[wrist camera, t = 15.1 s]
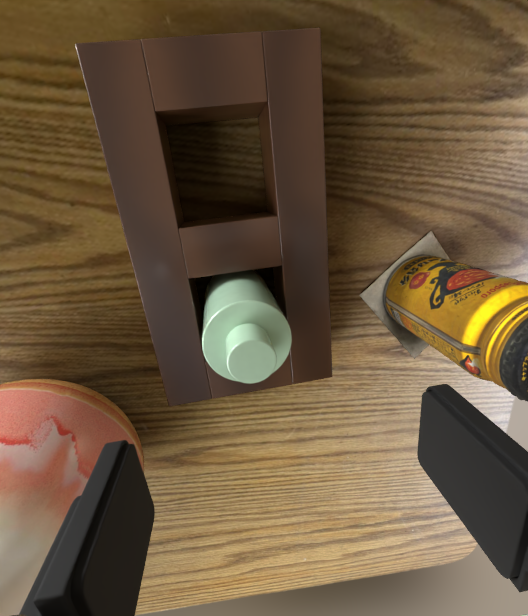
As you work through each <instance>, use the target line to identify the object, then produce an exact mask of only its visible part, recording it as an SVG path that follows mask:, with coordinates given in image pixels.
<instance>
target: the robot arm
mask: <svg viewBox="0 0 528 616" xmlns="http://www.w3.org/2000/svg"><path fill="white" fill-rule="evenodd" d="M418 460H419V463H420V465H421V466H422V468H423V469H424V471H425V472H426V473H427V475H428V476H429V477H430V479H431V480H432V481H433V483H434V484H435V486H436V487H437V488H438V490H439V491H440V492H441V494H442V495H443V496H444V498H445V499H446V501H447V502H448V503H449V505H450V506H451V507H452V509H453V510H454V511H455V513H456V514H457V516H458V517H459V518H460V520H461V521H462V522H463V524H464V525H465V526H466V528H467V529H468V531H469V532H470V533H471V535H472V536H473V537H474V539H475V540H476V541H477V543H478V544H479V545H480V547H481V548H482V550H483V551H484V552H485V554H486V555H487V556H488V558H489V559H490V561H491V562H492V563H493V565H494V566H495V567H496V569H497V570H498V571H499V573H500V574H501V575H502V576H504V577H505V578H507V579H508V578H509V579H510V580H511V581H512V583H513V584H514V585H515V587H516V588H517V589H518V591H519V592H523V591H527V590H528V452H527V451H526V450H525V449H524V448H523V447H521V446H520V445H519V444H518V443H517V442H515V441H514V440H513V439H512V438H510V436H508V435H507V434H506V433H505V432H504V431H502V430H501V429H500V428H499V427H498V426H497V425H495V424H494V423H493V422H492V421H491V420H489V419H488V418H487V417H486V416H485V415H484V414H482V413H481V412H480V411H479V410H478V409H476V408H475V407H474V406H473V405H472V404H471V403H469V402H468V401H467V400H466V399H465V398H463V397H462V396H461V395H460V394H459V393H458V392H456V391H455V390H454V389H453V388H452V387H450V386H449V385H447V384H442V385H436V386H431V387H428V388H427V389H426V392H424V393H423V395H422V404H421V417H420V429H419V442H418ZM153 522H154V504H153V501H152V498H151V495H150V492H149V489H148V485H147V482H146V479H145V476H144V473H143V470H142V467H141V464H140V460H139V457H138V454H137V451H136V448H135V445H134V444H129V443H128V441H127V440H121V441H116V442H110V443H106V444H105V445H104V447H103V449H102V451H101V453H100V455H99V458H98V460H97V462H96V464H95V466H94V469H93V471H92V473H91V475H90V477H89V479H88V482H87V484H86V486H85V488H84V490H83V493H82V495H81V496H78V497H77V498H75V499H74V501H73V502H72V504H71V506H70V508H69V510H68V512H67V514H66V516H65V519H64V521H63V523H62V525H61V527H60V529H59V531H58V533H57V535H56V537H55V540H54V542H53V544H52V546H51V548H50V550H49V552H48V554H47V556H46V558H45V560H44V563H43V565H42V567H41V569H40V571H39V573H38V575H37V577H36V579H35V581H34V584H33V586H32V588H31V590H30V592H29V594H28V596H27V598H26V600H25V602H24V605H23V607H22V609H21V611H20V613H19V615H11V616H134V615H135V610H136V605H137V601H138V596H139V591H140V586H141V581H142V576H143V571H144V566H145V561H146V556H147V551H148V546H149V541H150V536H151V531H152V526H153ZM521 616H528V614H525V615H521Z"/></svg>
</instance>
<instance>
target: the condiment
mask: <svg viewBox="0 0 528 616" xmlns="http://www.w3.org/2000/svg"><path fill="white" fill-rule="evenodd" d="M360 296H361V297H362V299H363V300H364V301H365V302H366V303H367V305H368V306H369V307H370V308H371V309H372V310H373V312H374V313H375V314H376V315H377V316H378V317H379V319H380V320H381V321H382V322H383V323H384V324H385V325H386V327H387V328H388V329H389V330H390V331H391V332H392V333H393V335H394V336H395V337H396V338H397V339H398V340H399V342H400V343H401V344H402V345H403V346H404V347H405V349H406V350H407V351H408V352H409V353H410V354H411V355H412V357H413V358H414V359H415V358H416V357H417V356H418V355H419V354H420V353H421V352H422V351H423V350H424V349H425V348H426V347H427V346H428V345H430V346H432V347H434V348H435V349H437V350H438V351H439V352H441V353H442V354H443V355H445V356H446V357H448V358H449V359H450V360H452V361H453V362H455V363H456V364H457V365H459V366H460V367H462V368H463V369H464V370H466V371H467V372H469V373H470V374H472V375H473V376H475V377H477V378H480V379H483V380H488V381H493V382H494V383H495V384H497V385H499V386H501V387H503V388H506V389H507V390H508V391H509V392H511V394H512V395H514V396H517V397H518V399H520V400H525V401H528V283H526V282H522V281H518V280H516V279H512V278H509V277H505V276H501V275H499V274H494V273H491V272H488V271H485V270H483V269H479V268H473V267H471V266H468V265H466V264H461V263H458V262H454V261H451V260H450V258H449V257H448V255H447V254H446V252H445V251H444V250H443V248H442V247H441V245H440V243H439V242H438V241H437V239H436V238H435V236H434V234H433V232H432V231H430V232H429V233H428V234H427V235H426V236H425V237H424V238H422V239H421V240H420V241H419V242H418V243H417V244H416V245H415V246H413V247H412V248H411V249H410V250H409V251H407V252H406V253H405V254H404V255H403V256H402V257H401V258H399V259H398V260H397V261H396V262H395V263H394V264H393V265H392V266H391V267H390V268H388V270H386V271H385V272H384V273H383V274H382V275H381V276H380V277H379V278H378V279H377V280H376V281H375V282H374V283H373V284H372V285H370V286H369V287H368V288H367V289H366V290H365V291H364V292H363V293H361V294H360Z"/></svg>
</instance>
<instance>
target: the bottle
mask: <svg viewBox="0 0 528 616" xmlns="http://www.w3.org/2000/svg"><path fill="white" fill-rule="evenodd" d="M291 342H292V335H291V329H290V326H289V324H288V322H287V320H286V318H285V316H284V314H283V313H282V311H281V309H280V307H279V306H278V304H277V302H276V300H275V299H274V297H273V295H272V293H271V291H270V290H269V288H268V286H267V284H266V283H265V281H264V279H263V278H262V277H261V276H260V275H259V274H258V273H257V272H255V271H254V270H247V271H240V272H232V273H225V274H218V275H214V276H213V277H212V279H211V280H210V282H209V283H208V285H207V288H206V293H205V305H204V319H203V333H202V350H203V354H204V357H205V359H206V361H207V362H208V364H209V365H210V367H211V368H212V369H213V370H214V371H215V372H217V373H218V374H219V375H221V376H223V377H225V378H227V379H230V380H233V381H239V382H243V383H258V382H261V381H263V380H265V379H266V378H267V377H269V376H270V375H271V374H272V373H274V372H275V371H276V370H277V369H278V368H279V367H280V366H281V365H282V364H283V363H284V361H285V360H286V358H287V356H288V354H289V351H290V348H291Z"/></svg>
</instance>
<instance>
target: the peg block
mask: <svg viewBox="0 0 528 616" xmlns="http://www.w3.org/2000/svg"><path fill="white" fill-rule="evenodd" d="M75 46H76V50H77V54H78V58H79V61H80V65H81V69H82V73H83V77H84V81H85V84H86V88H87V92H88V96H89V100H90V104H91V108H92V111H93V115H94V119H95V123H96V127H97V131H98V135H99V138H100V142H101V146H102V150H103V154H104V158H105V161H106V165H107V169H108V173H109V177H110V181H111V185H112V188H113V192H114V196H115V200H116V204H117V208H118V211H119V215H120V219H121V223H122V227H123V231H124V235H125V238H126V242H127V246H128V250H129V254H130V258H131V261H132V265H133V269H134V273H135V277H136V281H137V285H138V288H139V292H140V296H141V300H142V304H143V308H144V312H145V315H146V319H147V323H148V327H149V331H150V335H151V338H152V342H153V346H154V350H155V354H156V358H157V362H158V365H159V369H160V373H161V377H162V381H163V385H164V388H165V392H166V396H167V400H168V404H169V406H174V405H180V404H186V403H191V402H197V401H202V400H208V399H212V398H219V397H225V396H230V395H236V394H241V393H247V392H252V391H258V390H263V389H269V388H275V387H280V386H286V385H291V384H292V383H293V384H296V383H302V382H307V381H313V380H318V379H324V378H329V377H332V354H331V324H330V295H329V265H328V236H327V207H326V177H325V148H324V118H323V89H322V59H321V30H320V28H308V29H293V30H278V31H263V32H261V31H259V32H243V33H228V34H212V35H197V36H181V37H166V38H151V39H141V40H140V39H136V40H121V41H106V42H90V43H76V44H75ZM257 117H258V121H259V131H260V141H261V151H262V162H263V172H264V182H265V192H266V202H267V212H261V213H253V214H244V215H236V216H228V217H220V218H212V219H204V220H196V221H188V222H184V219H183V214H182V208H181V203H180V198H179V193H178V187H177V182H176V177H175V172H174V166H173V161H172V156H171V151H170V145H169V140H168V135H167V130H166V126H172V125H182V124H193V123H204V122H215V121H226V120H237V119H247V118H257ZM268 267H273V274H274V284H275V294H276V302H277V304H278V306H279V307H280V309H281V311H282V313H283V314H284V316H285V318H286V320H287V322H288V324H289V326H290V329H291V335H292V342H291V348H290V351H289V354H288V356H287V358H286V360H285V361H284V363H283V364H282V365H281V366H280V367H279V368H278V369H277V370H276V371H275V372H274V373H272V374H271V375H270V376H269V377H267V378H266V379H265V380H263V381H261V382H258V383H243V382H239V381H233V380H230V379H227V378H225V377H223V376H221V375H219V374H218V373H217V372H215V371H214V370H213V369H212V368H211V367H210V365H209V364H208V362H207V361H206V359H205V357H204V354H203V350H202V333H203V318H202V313H201V308H200V303H199V297H198V292H197V287H196V282H195V278H197V277H204V276H211V275H218V274H225V273H232V272H240V271H247V270H254V269H261V268H268Z"/></svg>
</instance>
